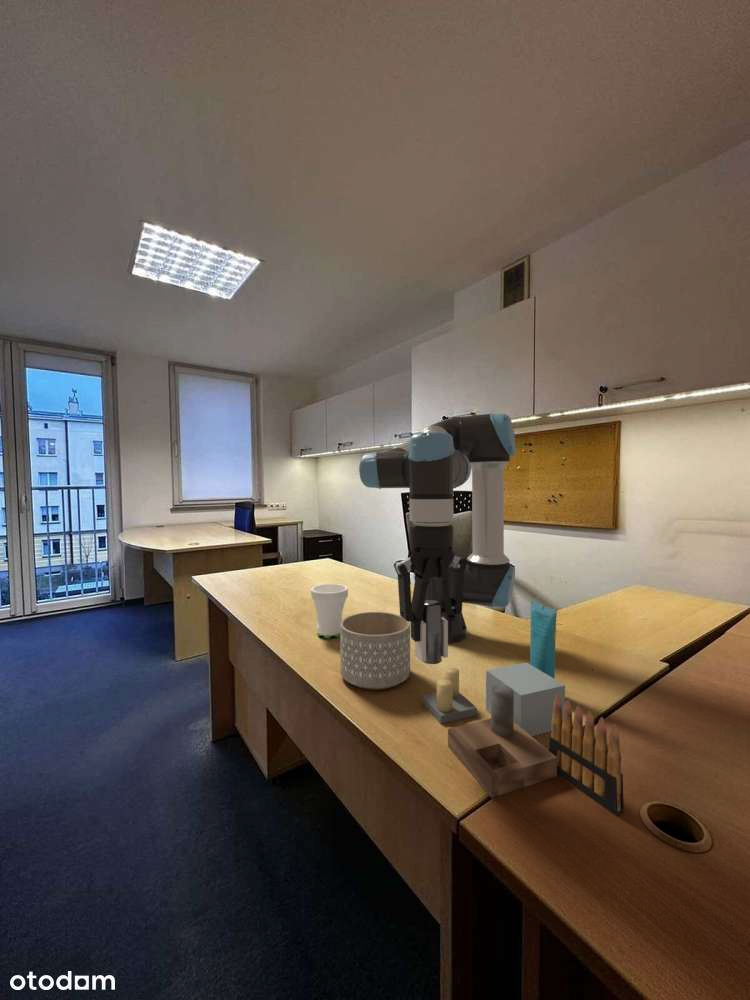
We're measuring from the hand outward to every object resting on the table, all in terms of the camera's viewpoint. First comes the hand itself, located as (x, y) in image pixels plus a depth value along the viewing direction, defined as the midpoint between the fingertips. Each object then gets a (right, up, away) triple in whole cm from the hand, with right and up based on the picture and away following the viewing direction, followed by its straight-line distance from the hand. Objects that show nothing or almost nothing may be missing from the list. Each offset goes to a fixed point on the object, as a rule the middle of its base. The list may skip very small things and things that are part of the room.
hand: (431, 656), depth 69 cm
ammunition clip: (+21, -15, -11) cm, 28 cm away
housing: (+19, -15, +7) cm, 25 cm away
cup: (-24, -13, +50) cm, 57 cm away
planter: (-10, -14, +24) cm, 29 cm away
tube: (+26, -14, +16) cm, 34 cm away
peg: (0, -1, 0) cm, 1 cm away
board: (+5, -14, +10) cm, 18 cm away
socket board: (+10, -15, -5) cm, 19 cm away
